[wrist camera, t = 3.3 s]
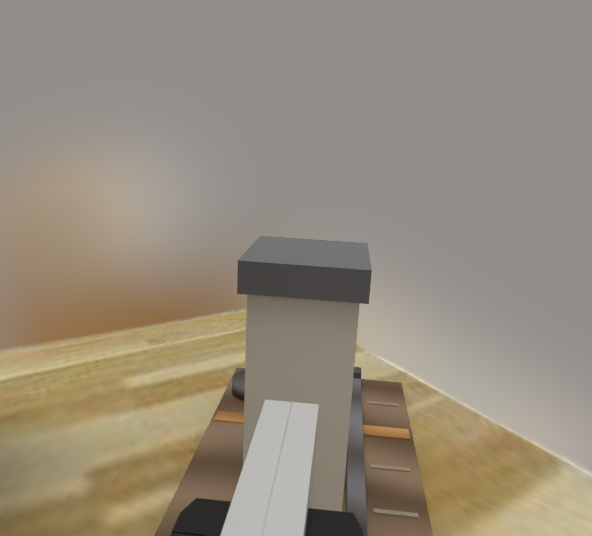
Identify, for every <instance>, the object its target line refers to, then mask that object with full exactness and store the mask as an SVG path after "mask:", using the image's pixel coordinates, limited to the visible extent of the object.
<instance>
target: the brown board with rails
mask: <svg viewBox="0 0 592 536" xmlns="http://www.w3.org/2000/svg"><path fill="white" fill-rule="evenodd" d="M244 396H245V369H244V368H237V369H236V371H235V373H234V375H233V377H232V379H231V381H230V383H229V385H228V387H227V389H226V391H225V393H224V395H223V397H222V399H221V401H220V403H219V405H218V407H217V409H216V411H215V414H214V416H213V418H212V420H211V422H210V424H209V426H208V428H207V430H206V432H205V434H204V436H203V438H202V440H201V442H200V444H199V446H198V448H197V450H196V452H195V454H194V456H193V458H192V460H191V463H190V465H189V467H188V469H187V471H186V473H185V475H184V477H183V479H182V481H181V483H180V485H179V487H178V489H177V491H176V493H175V495H174V497H173V499H172V501H171V503H170V505H169V507H168V509H167V511H166V514H165V516H164V518H163V520H162V522H161V524H160V526H159V528H158V530H157V532H156V534H155V536H170V535H171V533H172V529H173V527H174V525H175V523H176V521H177V518H178V516H179V514H180V512H181V511H183V510H184V509H185V508H186V507H187V506H188V505H189V504H190V503H191V502H192V501H193V500H195V499H196V498H202V499H212V500H221V501H231V502H232V499H233V496H234V493H235V490H236V487H237V484H238V481H239V477H240V474H241V471H242V468H243V433H244ZM342 512H350V513H354V515H355V517H356V519H357V520H358V522H359V524H360V526H361V527H362V529H363V534H364V536H433V534H432V529H431V524H430V519H429V515H428V510H427V505H426V500H425V495H424V490H423V486H422V481H421V476H420V471H419V466H418V461H417V457H416V452H415V447H414V442H413V437H412V432H411V428H410V423H409V418H408V413H407V408H406V404H405V399H404V394H403V389H402V384H401V383H398V382H387V381H376V380H365V379H361V368H359V367H354V374H353V386H352V398H351V410H350V422H349V434H348V446H347V457H346V469H345V481H344V493H343V505H342Z"/></svg>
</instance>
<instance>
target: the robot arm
mask: <svg viewBox="0 0 592 536" xmlns="http://www.w3.org/2000/svg"><path fill="white" fill-rule="evenodd" d="M318 411H319V404H309V403H298V402H286V401H275V400H265V402H264V405H263V408H262V411H261V414H260V417H259V420H258V423H257V426H256V429H255V432H254V435H253V438H252V441H251V444H250V447H249V450H248V453H247V456H246V459H245V462H244V465H243V468H242V471H241V474H240V477H239V481H238V484H237V487H236V490H235V493H234V496H233V499H232V502H231V501H221V500H212V499H202V498H196V499H195V500H193V501H192V502H191V503H190V504H189V505H188V506H187V507H186V508H185V509H184V510H183V511H181V512H180V514H179V516H178V518H177V521H176V523H175V525H174V527H173V529H172V533H171V535H170V536H364V534H363V529H362V527H361V526H360V524H359V522H358V520H357V519H356V517H355V515H354V513H350V512H341V511H331V510H322V509H313V508H312V504H313V494H314V480H315V463H316V446H317V428H318Z"/></svg>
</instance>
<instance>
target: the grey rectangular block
mask: <svg viewBox="0 0 592 536" xmlns="http://www.w3.org/2000/svg"><path fill="white" fill-rule="evenodd" d="M371 271H372V270H371V264H370V258H369V252H368V245H367V243H355V242H340V241H326V240H311V239H297V238H296V239H295V238H281V237H267V236H260V237H259V238H258V239H257V240H256V241H255V242H254V244H253V245H252V246H251V247H250V248H249V249H248V250H247V251H246V253H244V255H243V256H242V257H241V258H240V259H239V260H238V287H237V293H238V294H247V323H246V359H245V396H244V433H243V465H244V462H245V459H246V456H247V453H248V450H249V447H250V444H251V441H252V438H253V435H254V432H255V429H256V426H257V423H258V420H259V417H260V414H261V411H262V408H263V405H264V402H265V400H275V401H286V402H298V403H309V404H319V411H318V428H317V446H316V463H315V480H314V494H313V504H312V508H313V509H322V510H331V511H341V512H342V505H343V493H344V481H345V469H346V457H347V446H348V434H349V422H350V410H351V398H352V386H353V374H354V362H355V350H356V339H357V327H358V315H359V303H364V304H369V294H370V282H371Z"/></svg>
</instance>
